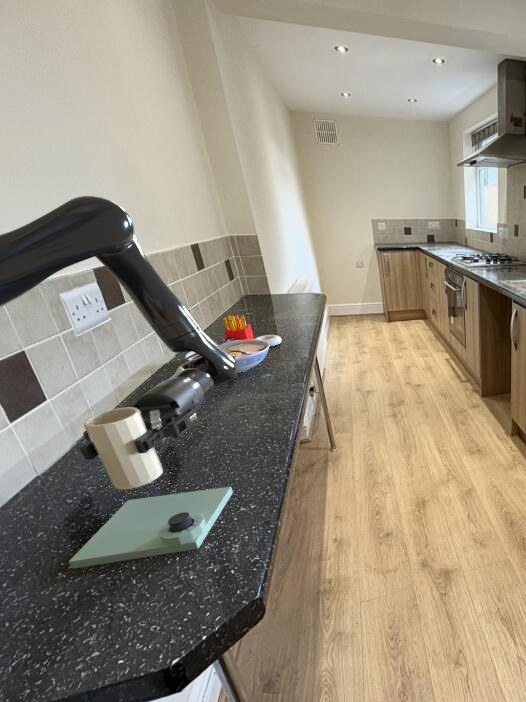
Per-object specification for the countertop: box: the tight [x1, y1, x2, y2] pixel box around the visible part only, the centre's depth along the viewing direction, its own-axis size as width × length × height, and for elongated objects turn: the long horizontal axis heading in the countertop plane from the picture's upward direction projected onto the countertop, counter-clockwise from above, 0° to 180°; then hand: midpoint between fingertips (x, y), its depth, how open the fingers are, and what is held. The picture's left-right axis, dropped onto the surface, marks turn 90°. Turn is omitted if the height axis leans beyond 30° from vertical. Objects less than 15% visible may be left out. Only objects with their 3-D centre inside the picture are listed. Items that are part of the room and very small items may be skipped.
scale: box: [68, 486, 234, 570], centre depth 66 cm, size 16×14×3 cm
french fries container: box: [221, 314, 255, 341], centre depth 145 cm, size 7×9×14 cm
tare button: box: [168, 512, 193, 533], centre depth 63 cm, size 3×3×2 cm
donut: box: [254, 334, 283, 346], centre depth 157 cm, size 10×4×10 cm
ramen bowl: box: [178, 336, 270, 374], centre depth 131 cm, size 25×23×8 cm
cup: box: [83, 406, 164, 491], centre depth 62 cm, size 6×6×11 cm
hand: (113, 450), depth 60 cm, fingers closed on cup, 6 cm apart
